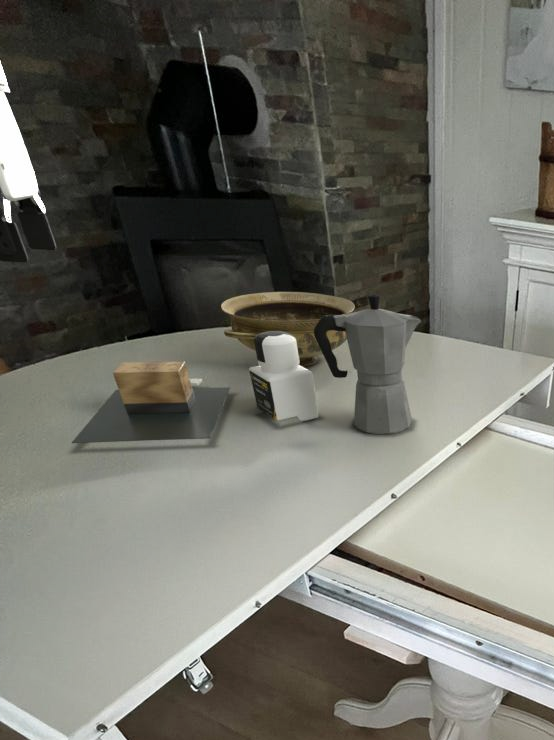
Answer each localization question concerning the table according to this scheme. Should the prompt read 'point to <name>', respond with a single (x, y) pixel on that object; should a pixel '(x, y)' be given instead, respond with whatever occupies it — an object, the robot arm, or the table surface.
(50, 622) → the table surface
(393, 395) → the coffeepot
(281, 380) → the medicine bottle
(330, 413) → the table surface
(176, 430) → the slate board
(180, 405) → the eraser
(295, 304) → the ceramic bowl
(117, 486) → the table surface
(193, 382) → the chalk lump
